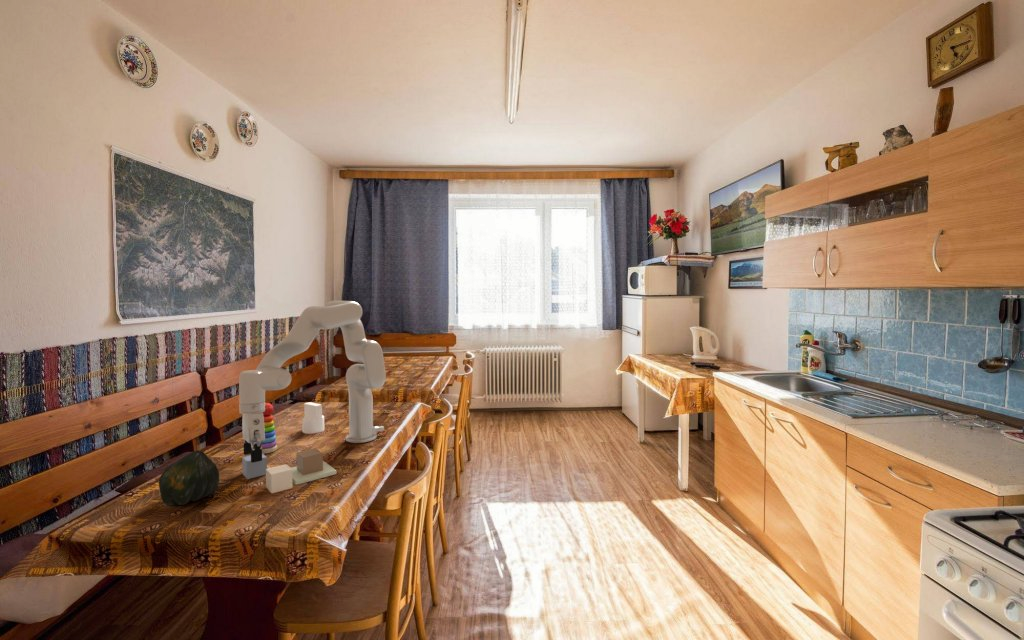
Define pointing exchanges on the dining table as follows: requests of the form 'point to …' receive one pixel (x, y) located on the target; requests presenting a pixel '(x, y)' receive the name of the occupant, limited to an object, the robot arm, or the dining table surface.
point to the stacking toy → (269, 431)
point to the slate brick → (254, 467)
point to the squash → (188, 479)
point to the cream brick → (279, 478)
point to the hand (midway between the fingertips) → (252, 457)
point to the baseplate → (313, 475)
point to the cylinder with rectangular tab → (312, 418)
